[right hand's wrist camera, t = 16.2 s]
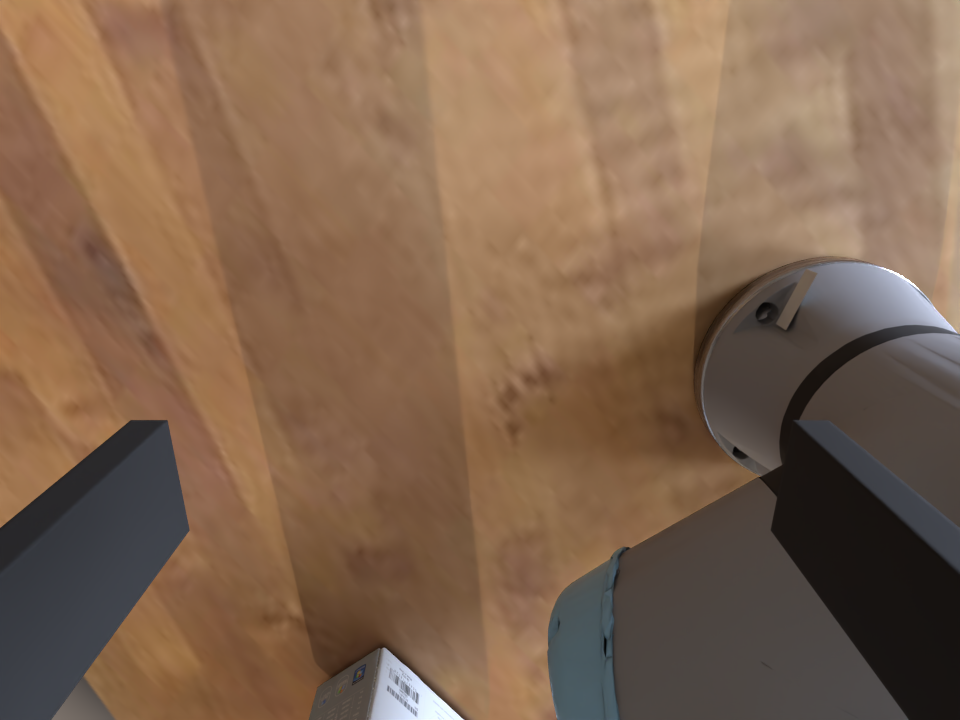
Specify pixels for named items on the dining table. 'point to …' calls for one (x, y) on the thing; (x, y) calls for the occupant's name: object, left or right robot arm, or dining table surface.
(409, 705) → the hard drive box
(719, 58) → the dining table surface
